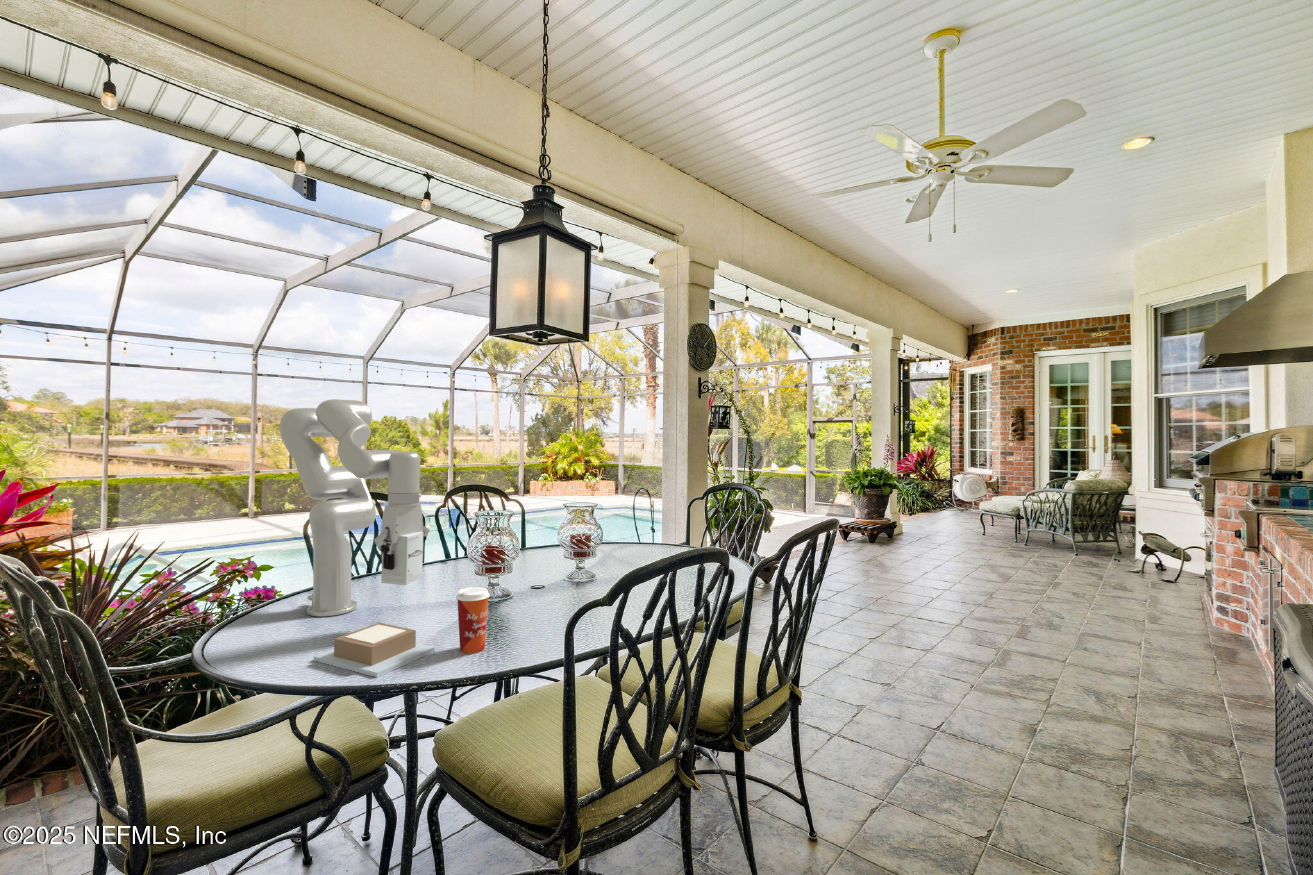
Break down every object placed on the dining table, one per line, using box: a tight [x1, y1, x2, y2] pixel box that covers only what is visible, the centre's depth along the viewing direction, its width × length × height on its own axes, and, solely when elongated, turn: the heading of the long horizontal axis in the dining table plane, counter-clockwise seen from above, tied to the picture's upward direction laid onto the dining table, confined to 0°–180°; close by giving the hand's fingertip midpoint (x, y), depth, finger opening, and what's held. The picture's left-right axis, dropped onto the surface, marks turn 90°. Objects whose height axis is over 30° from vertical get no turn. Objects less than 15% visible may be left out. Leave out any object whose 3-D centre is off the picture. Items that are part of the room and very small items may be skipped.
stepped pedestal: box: [313, 622, 436, 678], centre depth 133 cm, size 20×16×5 cm
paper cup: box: [455, 586, 490, 655], centre depth 138 cm, size 8×8×14 cm
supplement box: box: [380, 532, 424, 586], centre depth 151 cm, size 7×7×13 cm
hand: (402, 565), depth 151 cm, fingers closed on supplement box, 8 cm apart
